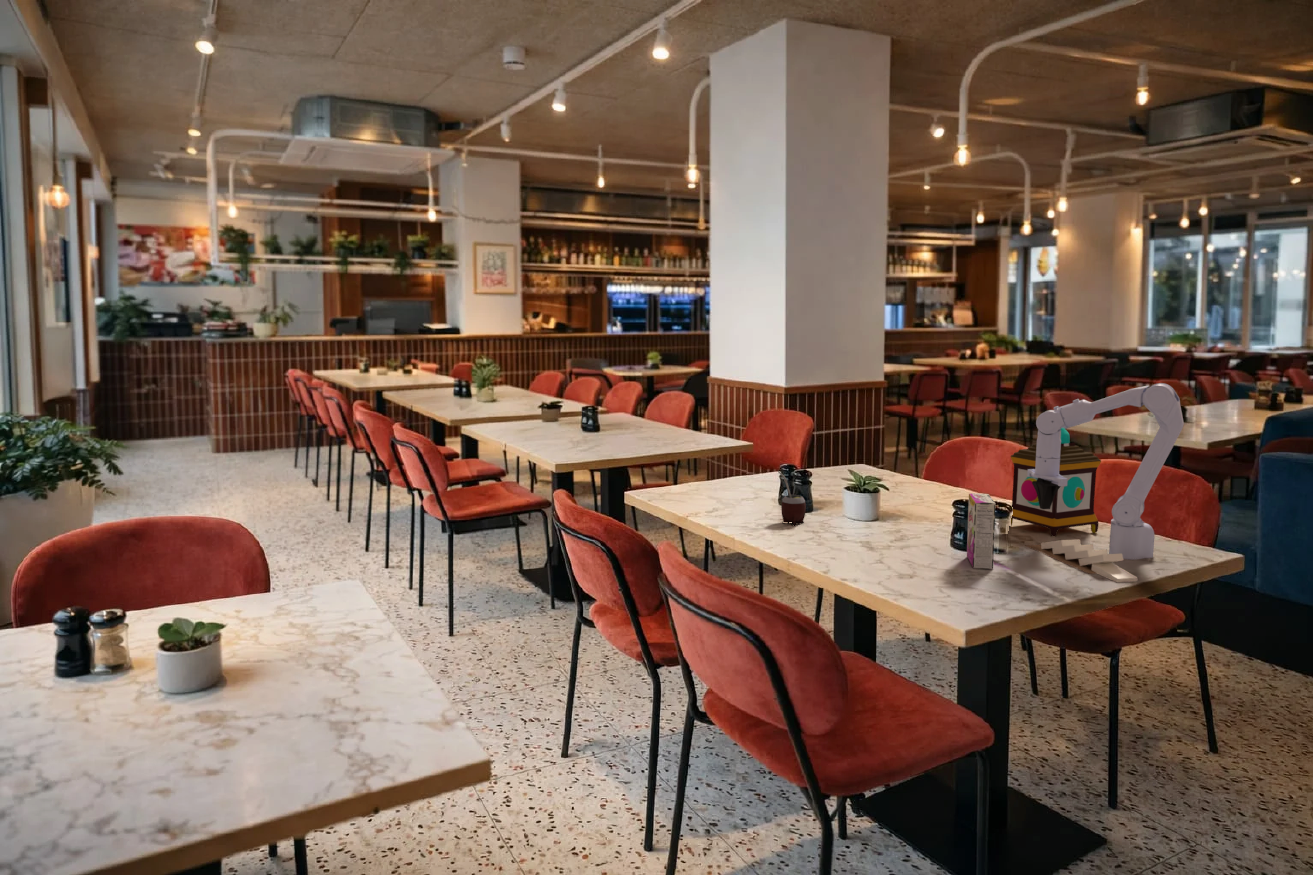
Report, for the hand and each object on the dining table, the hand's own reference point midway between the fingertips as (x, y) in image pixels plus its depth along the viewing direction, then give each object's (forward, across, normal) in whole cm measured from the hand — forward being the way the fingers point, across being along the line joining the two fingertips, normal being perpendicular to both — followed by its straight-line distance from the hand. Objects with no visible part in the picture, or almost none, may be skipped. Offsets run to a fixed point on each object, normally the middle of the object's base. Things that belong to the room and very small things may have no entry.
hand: (1045, 508), depth 230 cm
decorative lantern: (+11, -18, +14) cm, 25 cm away
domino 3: (+9, +14, 0) cm, 16 cm away
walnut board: (+10, +13, 0) cm, 17 cm away
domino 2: (+9, +9, 0) cm, 13 cm away
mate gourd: (+11, -38, -56) cm, 69 cm away
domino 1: (+9, +4, 0) cm, 10 cm away
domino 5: (+9, +24, 0) cm, 26 cm away
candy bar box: (+11, +11, -24) cm, 28 cm away
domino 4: (+9, +20, 0) cm, 21 cm away
